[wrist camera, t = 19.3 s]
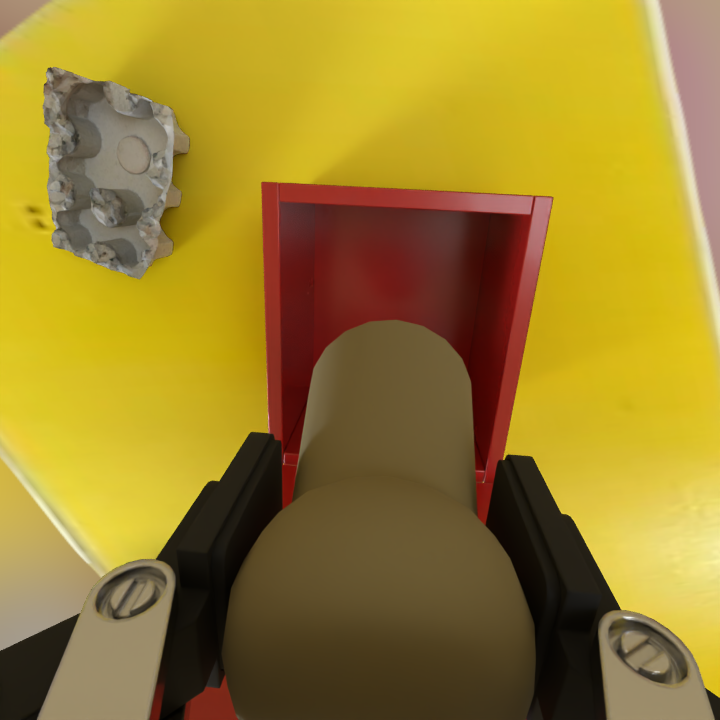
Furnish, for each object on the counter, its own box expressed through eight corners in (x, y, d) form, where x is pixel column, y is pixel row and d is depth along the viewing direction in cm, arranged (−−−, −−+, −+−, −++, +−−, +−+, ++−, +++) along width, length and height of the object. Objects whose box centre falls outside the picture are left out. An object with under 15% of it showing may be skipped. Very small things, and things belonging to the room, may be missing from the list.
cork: (277, 371, 16) (68, 670, 6) (419, 287, 15) (462, 496, 4) (364, 489, 18) (315, 889, 8) (501, 424, 16) (673, 815, 6)
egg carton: (92, 73, 27) (42, 52, 23) (206, 121, 28) (175, 109, 24) (69, 237, 31) (22, 243, 27) (170, 278, 31) (138, 289, 27)
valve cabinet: (305, 186, 28) (261, 181, 19) (503, 196, 28) (554, 196, 18) (304, 391, 34) (269, 464, 24) (470, 404, 33) (498, 485, 24)
